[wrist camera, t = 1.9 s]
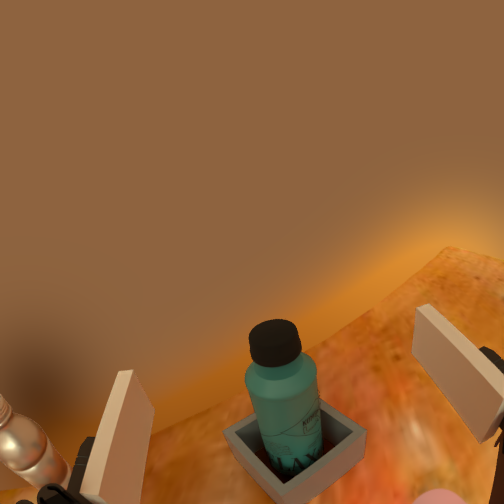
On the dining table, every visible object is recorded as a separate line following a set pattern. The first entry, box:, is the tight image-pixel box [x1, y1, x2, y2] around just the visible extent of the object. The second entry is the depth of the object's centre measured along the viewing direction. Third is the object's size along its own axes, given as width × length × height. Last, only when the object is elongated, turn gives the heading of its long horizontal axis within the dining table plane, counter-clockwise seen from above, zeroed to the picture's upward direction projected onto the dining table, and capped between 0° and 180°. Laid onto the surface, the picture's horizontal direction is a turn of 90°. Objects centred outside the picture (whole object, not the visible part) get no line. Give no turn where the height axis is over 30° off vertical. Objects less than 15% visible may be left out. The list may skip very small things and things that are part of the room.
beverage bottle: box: [245, 319, 324, 476], centre depth 27 cm, size 6×7×20 cm
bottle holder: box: [222, 398, 367, 504], centre depth 30 cm, size 11×11×6 cm
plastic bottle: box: [0, 394, 73, 491], centre depth 21 cm, size 6×7×20 cm
